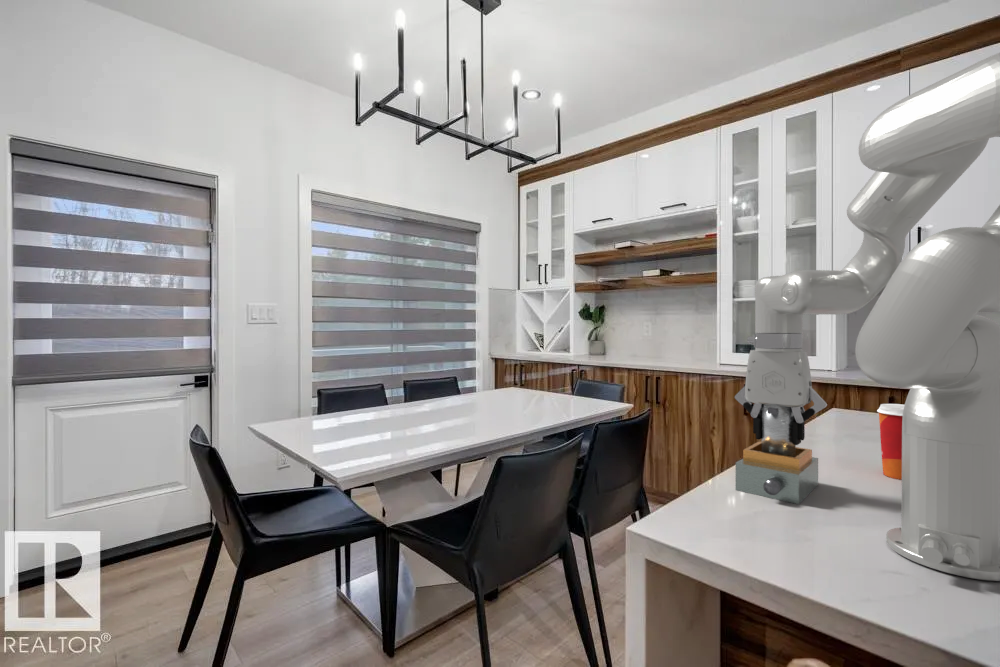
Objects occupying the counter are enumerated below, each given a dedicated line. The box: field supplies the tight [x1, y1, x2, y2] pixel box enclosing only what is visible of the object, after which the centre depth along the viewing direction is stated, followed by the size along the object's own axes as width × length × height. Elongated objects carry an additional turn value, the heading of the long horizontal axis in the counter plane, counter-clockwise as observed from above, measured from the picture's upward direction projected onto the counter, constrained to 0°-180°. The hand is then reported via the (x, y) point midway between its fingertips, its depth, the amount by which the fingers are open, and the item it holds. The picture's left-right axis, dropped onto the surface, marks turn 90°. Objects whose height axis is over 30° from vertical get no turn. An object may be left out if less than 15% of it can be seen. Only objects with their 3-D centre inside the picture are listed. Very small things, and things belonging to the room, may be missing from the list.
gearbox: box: [735, 441, 819, 505], centre depth 87 cm, size 16×10×7 cm, turn 135°
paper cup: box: [876, 403, 905, 481], centre depth 93 cm, size 8×8×14 cm
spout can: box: [761, 404, 797, 457], centre depth 87 cm, size 7×5×11 cm
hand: (778, 439), depth 87 cm, fingers closed on spout can, 5 cm apart
